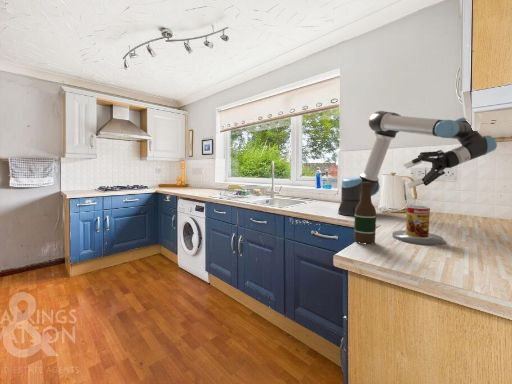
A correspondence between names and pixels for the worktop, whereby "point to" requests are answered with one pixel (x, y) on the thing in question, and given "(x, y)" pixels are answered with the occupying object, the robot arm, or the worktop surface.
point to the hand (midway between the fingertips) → (406, 176)
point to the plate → (429, 240)
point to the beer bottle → (365, 217)
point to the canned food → (417, 221)
